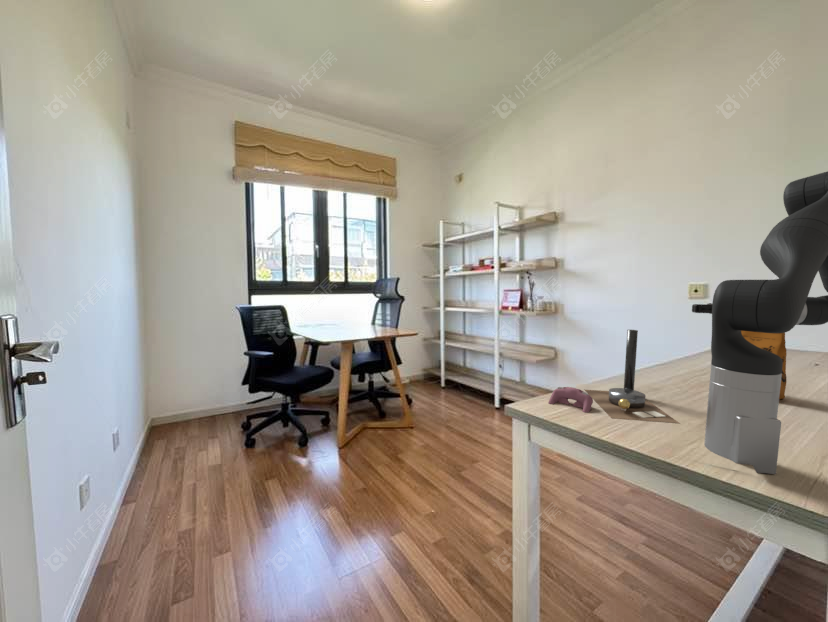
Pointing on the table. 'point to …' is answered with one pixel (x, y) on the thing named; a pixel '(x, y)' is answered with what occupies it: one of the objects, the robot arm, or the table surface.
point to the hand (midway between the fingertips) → (693, 308)
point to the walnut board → (629, 409)
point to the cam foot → (628, 379)
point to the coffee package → (770, 349)
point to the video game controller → (572, 397)
